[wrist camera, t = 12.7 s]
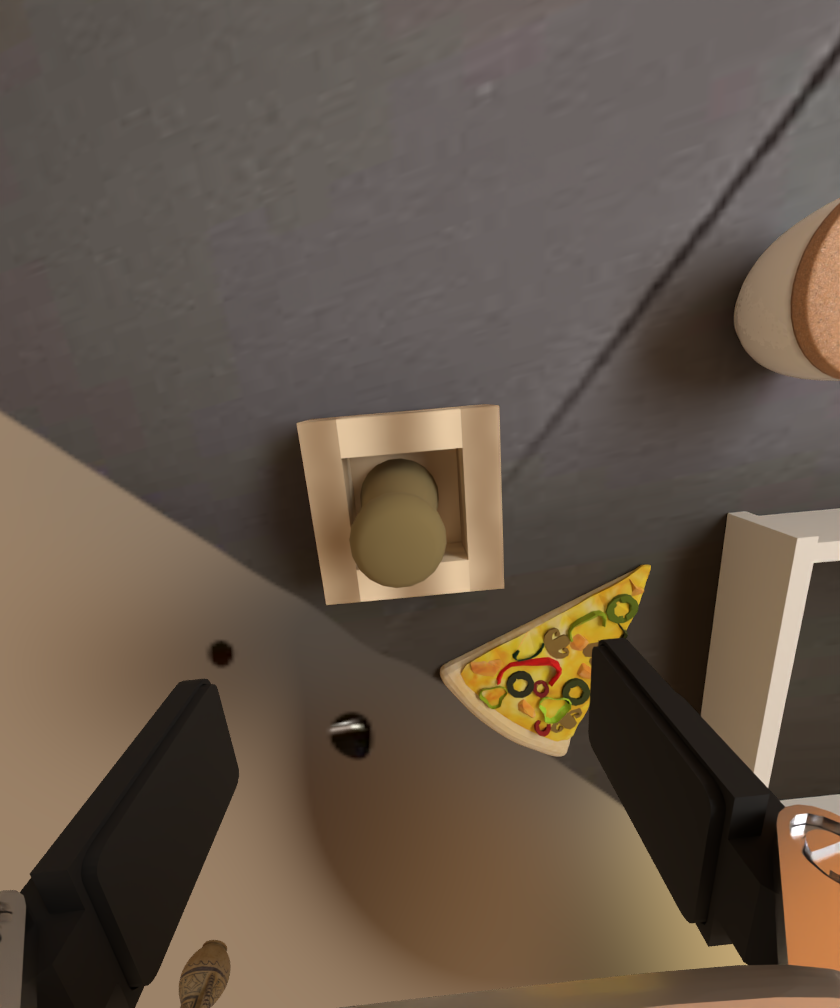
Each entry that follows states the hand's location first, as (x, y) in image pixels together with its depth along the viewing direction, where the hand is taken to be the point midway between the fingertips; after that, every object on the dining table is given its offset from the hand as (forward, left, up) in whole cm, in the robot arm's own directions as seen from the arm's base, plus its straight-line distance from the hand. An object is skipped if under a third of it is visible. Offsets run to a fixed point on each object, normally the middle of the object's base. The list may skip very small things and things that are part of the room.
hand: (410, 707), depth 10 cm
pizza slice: (+13, -16, -23) cm, 31 cm away
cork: (0, 0, -21) cm, 21 cm away
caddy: (0, 0, -22) cm, 22 cm away
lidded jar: (+28, +11, -22) cm, 38 cm away
